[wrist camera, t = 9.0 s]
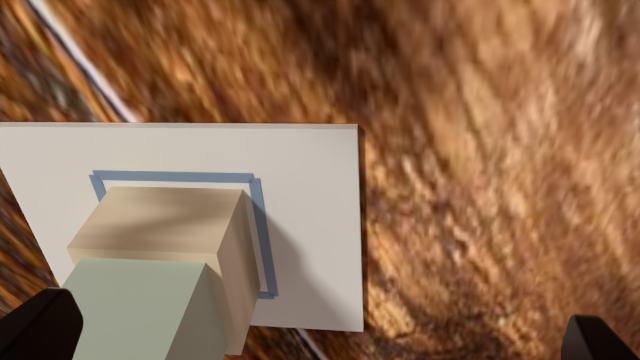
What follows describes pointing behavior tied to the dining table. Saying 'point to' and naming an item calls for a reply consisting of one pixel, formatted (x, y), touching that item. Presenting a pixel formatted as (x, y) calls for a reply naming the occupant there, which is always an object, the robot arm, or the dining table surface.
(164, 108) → the dining table surface
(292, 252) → the white base plate
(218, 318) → the sage cube
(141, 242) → the maple base block
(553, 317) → the dining table surface
